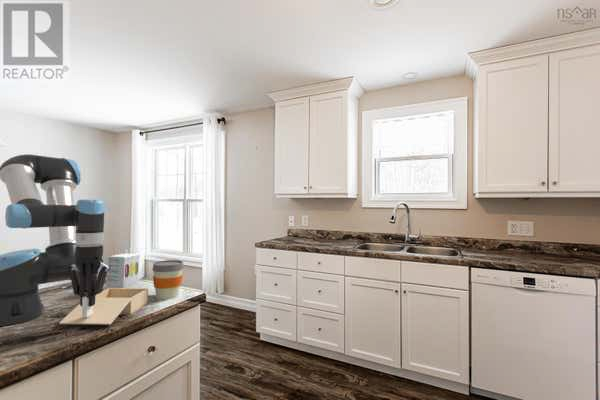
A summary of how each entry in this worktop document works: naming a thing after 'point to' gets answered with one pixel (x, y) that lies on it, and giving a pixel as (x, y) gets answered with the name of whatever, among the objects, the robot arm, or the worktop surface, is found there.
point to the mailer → (137, 297)
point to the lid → (98, 312)
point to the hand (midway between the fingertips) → (87, 315)
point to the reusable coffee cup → (167, 278)
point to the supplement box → (123, 271)
